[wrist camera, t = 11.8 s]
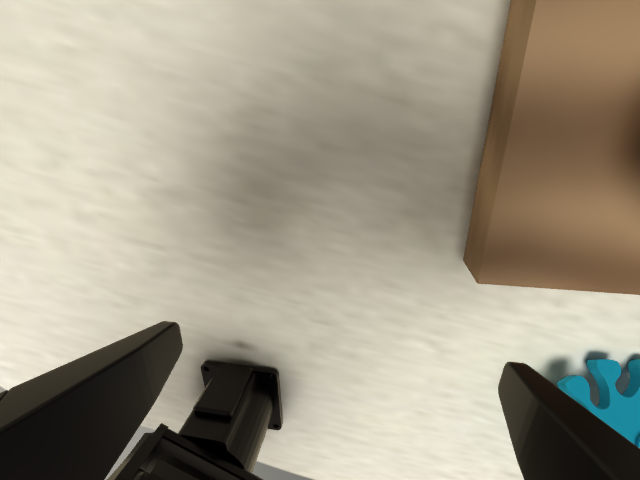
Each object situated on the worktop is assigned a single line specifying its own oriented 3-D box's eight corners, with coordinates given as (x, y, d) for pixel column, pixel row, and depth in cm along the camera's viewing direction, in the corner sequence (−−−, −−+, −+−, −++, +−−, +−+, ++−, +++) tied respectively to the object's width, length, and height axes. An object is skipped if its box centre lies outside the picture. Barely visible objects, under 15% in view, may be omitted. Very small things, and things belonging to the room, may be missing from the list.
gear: (769, 392, 16) (815, 638, 13) (667, 387, 22) (679, 560, 18) (546, 326, 19) (533, 519, 15) (503, 337, 24) (487, 481, 21)
